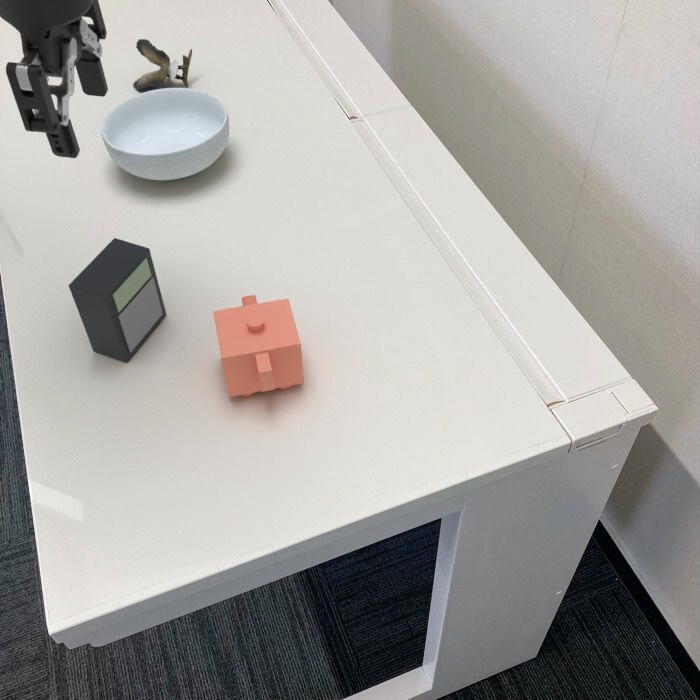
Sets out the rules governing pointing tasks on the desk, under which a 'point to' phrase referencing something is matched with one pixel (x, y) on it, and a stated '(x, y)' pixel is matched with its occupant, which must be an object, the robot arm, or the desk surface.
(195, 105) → the cereal bowl
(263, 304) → the pink cube teapot
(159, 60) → the eagle figurine
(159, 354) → the desk surface
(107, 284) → the calculator
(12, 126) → the desk surface
